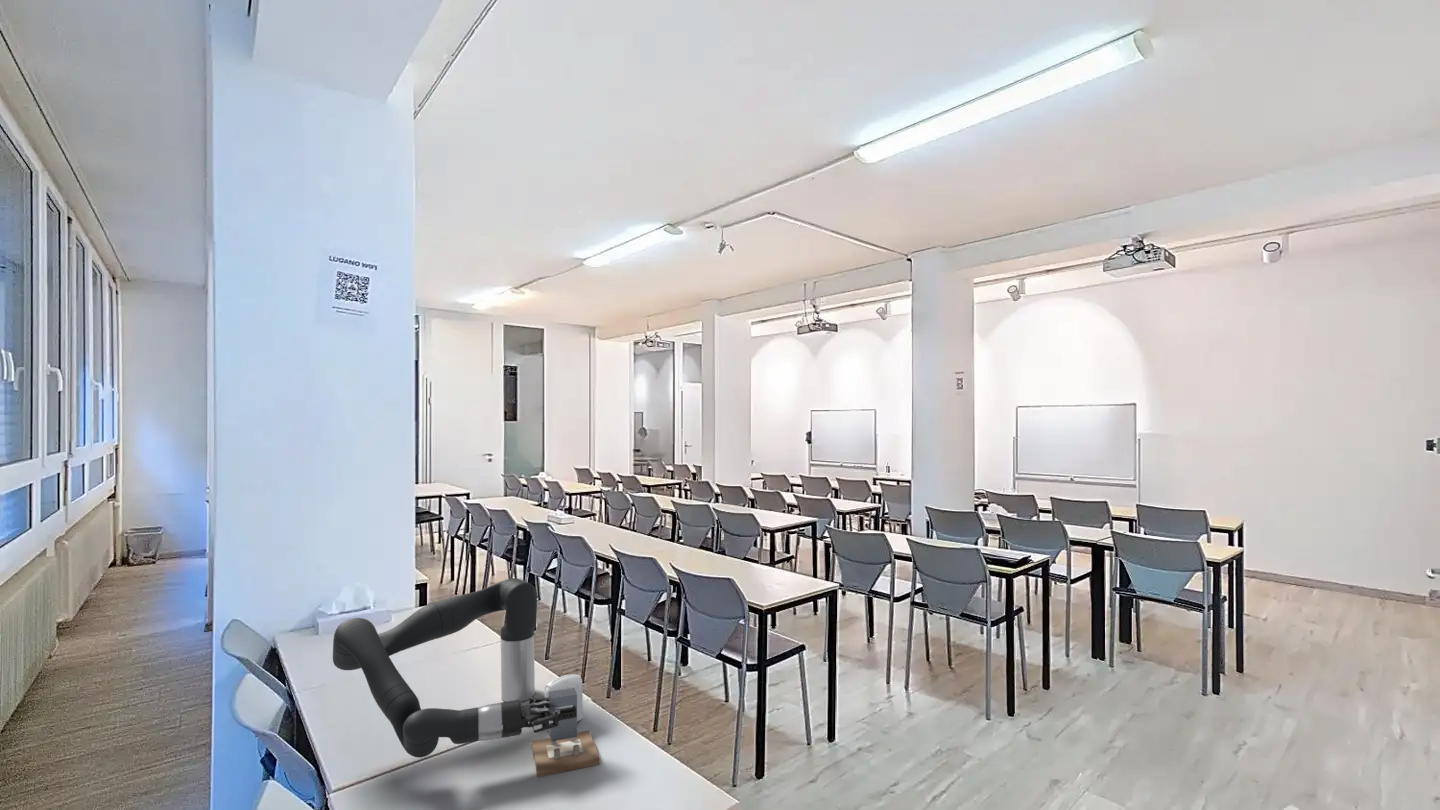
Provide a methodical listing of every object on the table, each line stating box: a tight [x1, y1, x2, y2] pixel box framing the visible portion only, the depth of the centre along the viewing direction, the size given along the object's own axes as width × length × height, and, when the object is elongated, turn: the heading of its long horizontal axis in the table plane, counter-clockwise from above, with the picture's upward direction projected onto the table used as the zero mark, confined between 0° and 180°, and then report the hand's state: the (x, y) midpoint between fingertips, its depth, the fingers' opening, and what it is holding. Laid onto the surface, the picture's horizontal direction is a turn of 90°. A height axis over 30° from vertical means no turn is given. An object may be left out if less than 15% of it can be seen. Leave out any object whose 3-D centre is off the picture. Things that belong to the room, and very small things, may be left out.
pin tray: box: [531, 729, 601, 778], centre depth 157 cm, size 14×14×4 cm
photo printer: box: [544, 673, 584, 732], centre depth 173 cm, size 10×4×12 cm, turn 134°
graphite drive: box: [548, 688, 578, 741], centre depth 156 cm, size 4×6×10 cm
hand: (574, 708), depth 157 cm, fingers closed on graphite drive, 4 cm apart
